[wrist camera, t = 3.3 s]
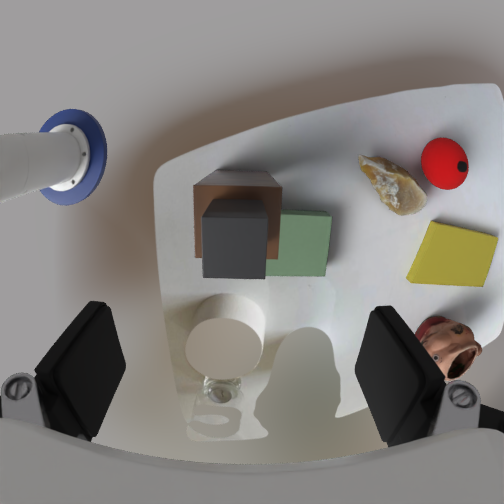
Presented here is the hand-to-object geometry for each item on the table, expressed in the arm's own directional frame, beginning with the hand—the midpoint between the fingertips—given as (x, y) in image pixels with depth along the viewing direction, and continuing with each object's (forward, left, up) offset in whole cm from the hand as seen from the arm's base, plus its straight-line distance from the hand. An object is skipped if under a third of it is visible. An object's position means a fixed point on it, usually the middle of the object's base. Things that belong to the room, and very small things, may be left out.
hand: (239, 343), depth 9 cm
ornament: (+33, +8, -37) cm, 51 cm away
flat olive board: (+44, -10, -37) cm, 59 cm away
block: (-1, 0, -18) cm, 18 cm away
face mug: (+45, -29, -37) cm, 65 cm away
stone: (+23, +3, -37) cm, 44 cm away
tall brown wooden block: (-1, 0, -37) cm, 37 cm away
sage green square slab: (+8, -8, -37) cm, 39 cm away
